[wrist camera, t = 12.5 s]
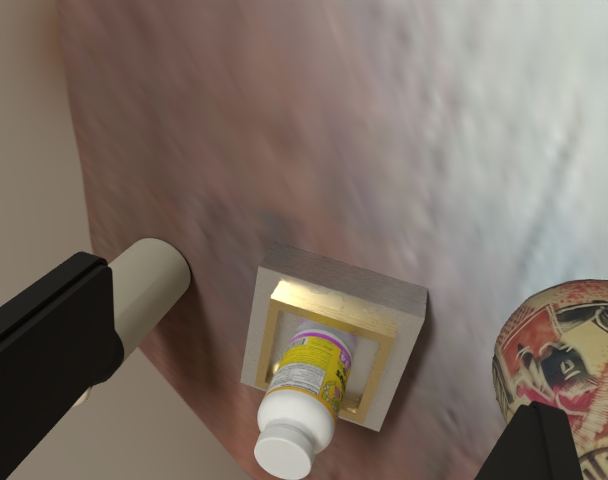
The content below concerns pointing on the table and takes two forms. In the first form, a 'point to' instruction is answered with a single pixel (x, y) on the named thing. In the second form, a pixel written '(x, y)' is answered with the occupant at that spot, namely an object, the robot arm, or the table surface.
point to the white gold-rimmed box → (335, 324)
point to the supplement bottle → (302, 403)
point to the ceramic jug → (560, 363)
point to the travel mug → (142, 296)
